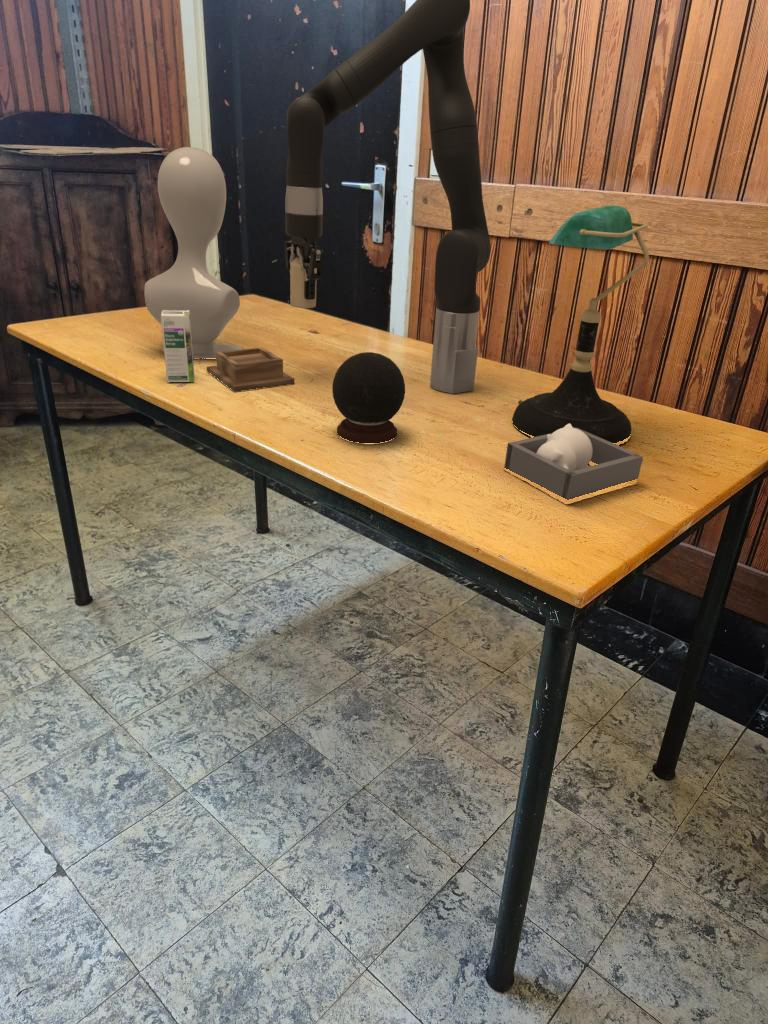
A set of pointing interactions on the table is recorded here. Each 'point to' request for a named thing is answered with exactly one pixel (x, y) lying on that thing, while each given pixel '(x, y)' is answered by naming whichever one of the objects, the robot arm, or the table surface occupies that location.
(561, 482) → the figurine tray
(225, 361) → the display pedestal
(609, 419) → the banker's lamp
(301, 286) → the candle
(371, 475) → the table surface
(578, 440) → the cat figurine
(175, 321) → the syrup box
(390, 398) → the black crystal ball
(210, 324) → the mannequin bust
